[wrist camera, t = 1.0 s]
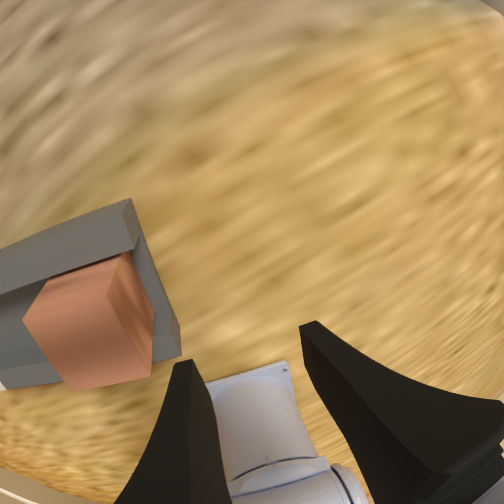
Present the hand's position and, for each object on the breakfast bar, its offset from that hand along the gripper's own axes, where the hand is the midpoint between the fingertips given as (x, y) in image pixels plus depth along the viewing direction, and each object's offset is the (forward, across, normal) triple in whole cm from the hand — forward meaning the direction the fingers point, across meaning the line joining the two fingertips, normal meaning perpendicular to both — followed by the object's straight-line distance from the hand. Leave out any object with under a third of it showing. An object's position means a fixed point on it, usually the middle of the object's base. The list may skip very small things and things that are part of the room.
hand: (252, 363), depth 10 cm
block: (+10, +8, 0) cm, 12 cm away
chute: (+10, +13, 0) cm, 17 cm away
